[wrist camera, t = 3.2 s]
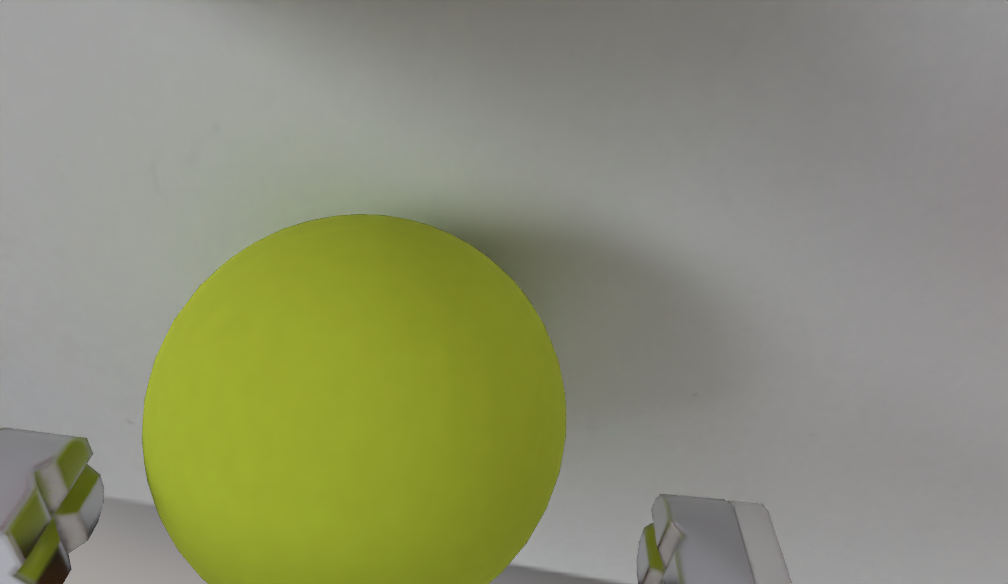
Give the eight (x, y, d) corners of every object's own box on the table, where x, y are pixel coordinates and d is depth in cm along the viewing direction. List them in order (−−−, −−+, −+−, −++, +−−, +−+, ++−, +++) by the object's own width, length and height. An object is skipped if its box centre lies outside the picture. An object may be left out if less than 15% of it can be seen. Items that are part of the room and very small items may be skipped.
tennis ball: (244, 395, 16) (111, 703, 10) (207, 123, 12) (-30, 395, 7) (531, 422, 16) (539, 733, 11) (584, 167, 12) (635, 457, 7)
